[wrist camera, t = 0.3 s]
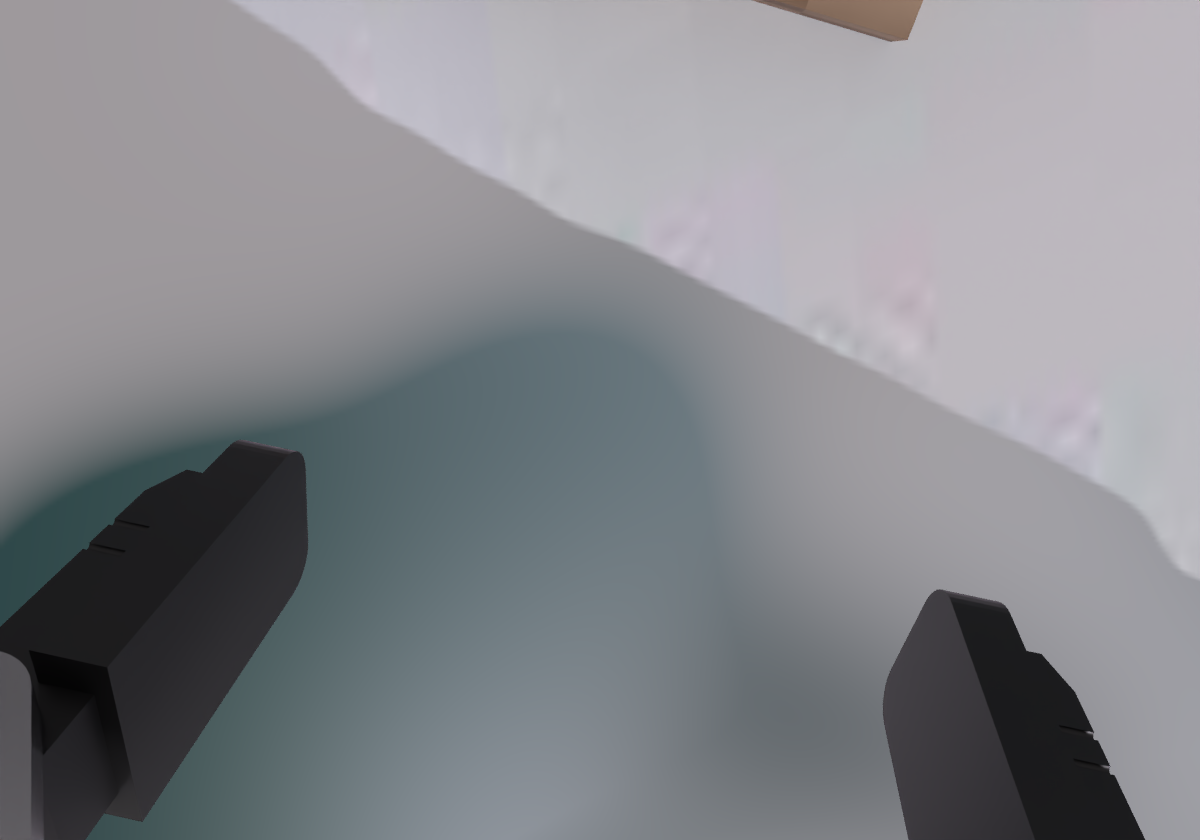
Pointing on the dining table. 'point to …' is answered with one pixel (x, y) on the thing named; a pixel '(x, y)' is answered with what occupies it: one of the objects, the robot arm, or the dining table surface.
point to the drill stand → (859, 14)
